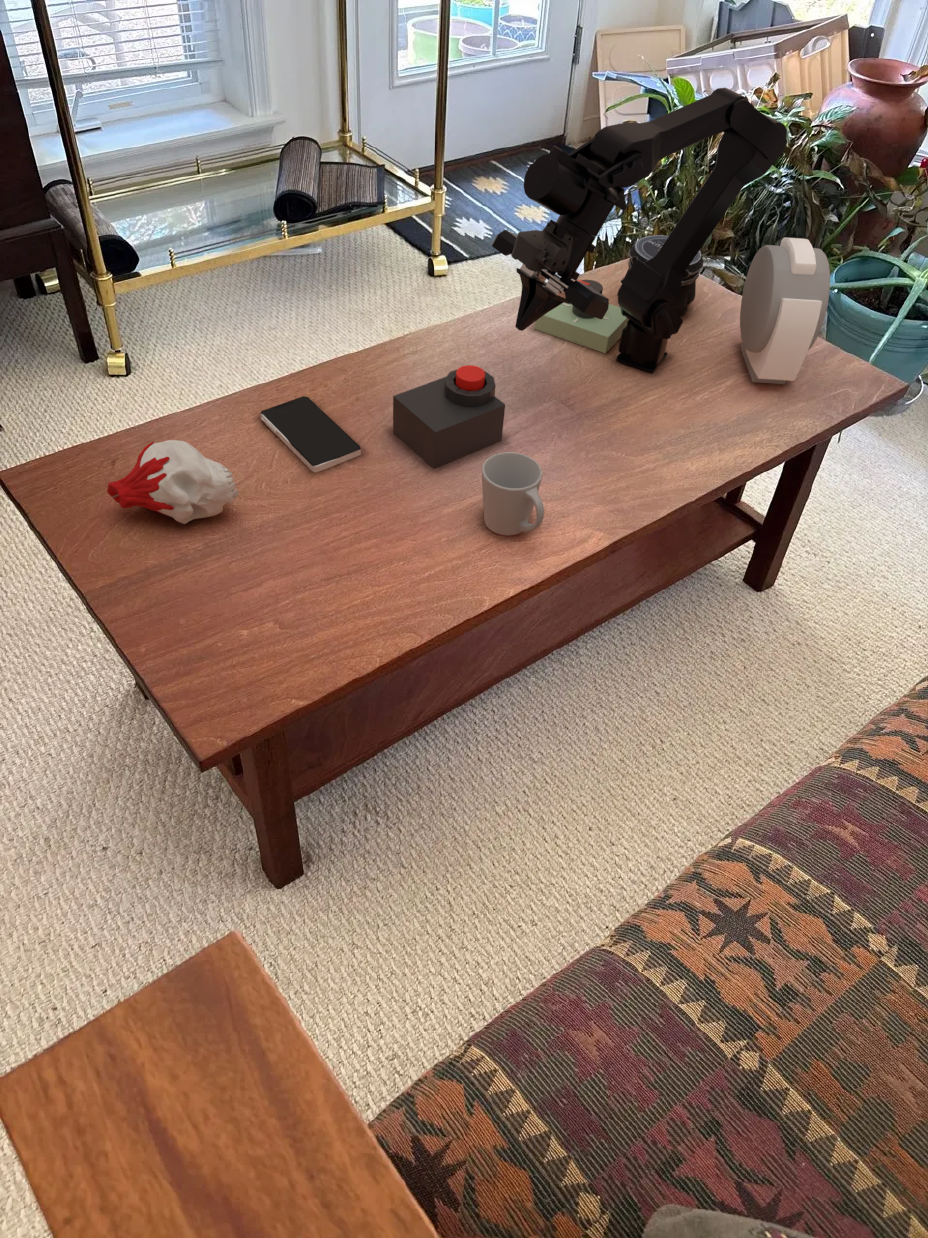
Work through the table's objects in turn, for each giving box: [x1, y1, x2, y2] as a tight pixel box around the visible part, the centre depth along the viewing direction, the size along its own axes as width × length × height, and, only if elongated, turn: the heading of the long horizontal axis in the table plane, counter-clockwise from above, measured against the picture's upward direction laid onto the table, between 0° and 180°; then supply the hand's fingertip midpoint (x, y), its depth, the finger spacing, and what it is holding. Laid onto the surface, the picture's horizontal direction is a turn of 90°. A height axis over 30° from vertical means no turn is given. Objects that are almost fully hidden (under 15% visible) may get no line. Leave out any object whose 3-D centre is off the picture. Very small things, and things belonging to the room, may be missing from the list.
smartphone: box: [259, 395, 362, 473], centre depth 133 cm, size 8×1×15 cm
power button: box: [456, 364, 485, 391], centre depth 131 cm, size 4×4×2 cm
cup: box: [481, 451, 545, 537], centre depth 120 cm, size 8×10×8 cm
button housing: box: [392, 368, 506, 470], centre depth 133 cm, size 13×10×8 cm
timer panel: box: [534, 303, 629, 354], centre depth 157 cm, size 13×10×3 cm
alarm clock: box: [739, 237, 831, 385], centre depth 147 cm, size 18×8×20 cm, turn 179°
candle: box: [106, 439, 240, 525], centre depth 119 cm, size 9×11×15 cm
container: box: [623, 234, 704, 318], centre depth 162 cm, size 13×13×10 cm
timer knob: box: [572, 279, 604, 318], centre depth 155 cm, size 4×4×5 cm
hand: (518, 329), depth 135 cm, fingers closed
